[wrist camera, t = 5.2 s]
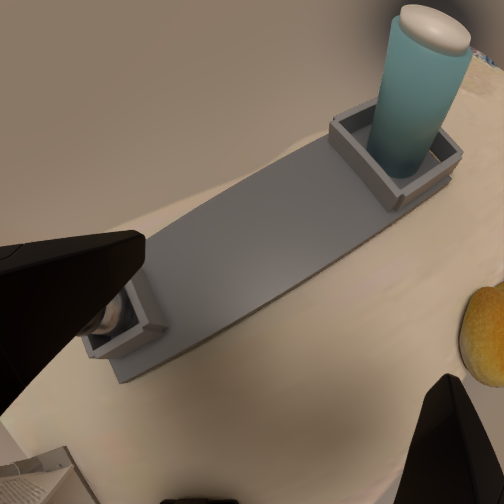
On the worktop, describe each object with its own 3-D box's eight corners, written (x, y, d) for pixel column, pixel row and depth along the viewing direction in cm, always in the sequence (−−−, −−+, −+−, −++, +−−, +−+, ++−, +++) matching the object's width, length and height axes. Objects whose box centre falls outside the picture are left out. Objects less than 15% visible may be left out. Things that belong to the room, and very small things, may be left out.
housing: (388, 110, 24) (396, 81, 21) (453, 180, 21) (471, 155, 18) (88, 286, 24) (59, 275, 20) (126, 382, 21) (96, 386, 17)
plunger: (150, 336, 20) (100, 330, 14) (104, 344, 20) (50, 338, 15) (142, 280, 21) (94, 257, 16) (99, 291, 22) (47, 273, 16)
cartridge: (429, 173, 21) (493, 51, 9) (380, 183, 21) (428, 44, 9) (404, 128, 23) (442, 5, 10) (357, 136, 23) (377, -1, 11)
